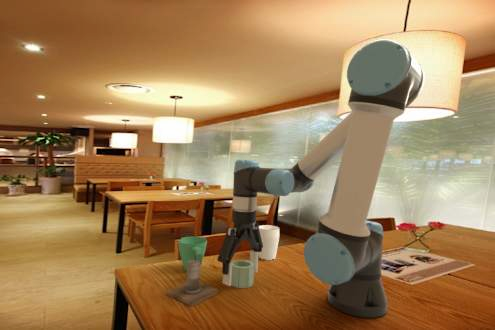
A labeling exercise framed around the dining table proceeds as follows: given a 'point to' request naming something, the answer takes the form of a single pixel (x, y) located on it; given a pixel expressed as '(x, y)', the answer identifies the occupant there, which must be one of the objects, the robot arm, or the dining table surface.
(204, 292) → the shaft block
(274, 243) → the cup
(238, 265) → the pale green hollow tube
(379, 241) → the robot arm
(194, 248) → the mug
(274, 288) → the dining table surface
